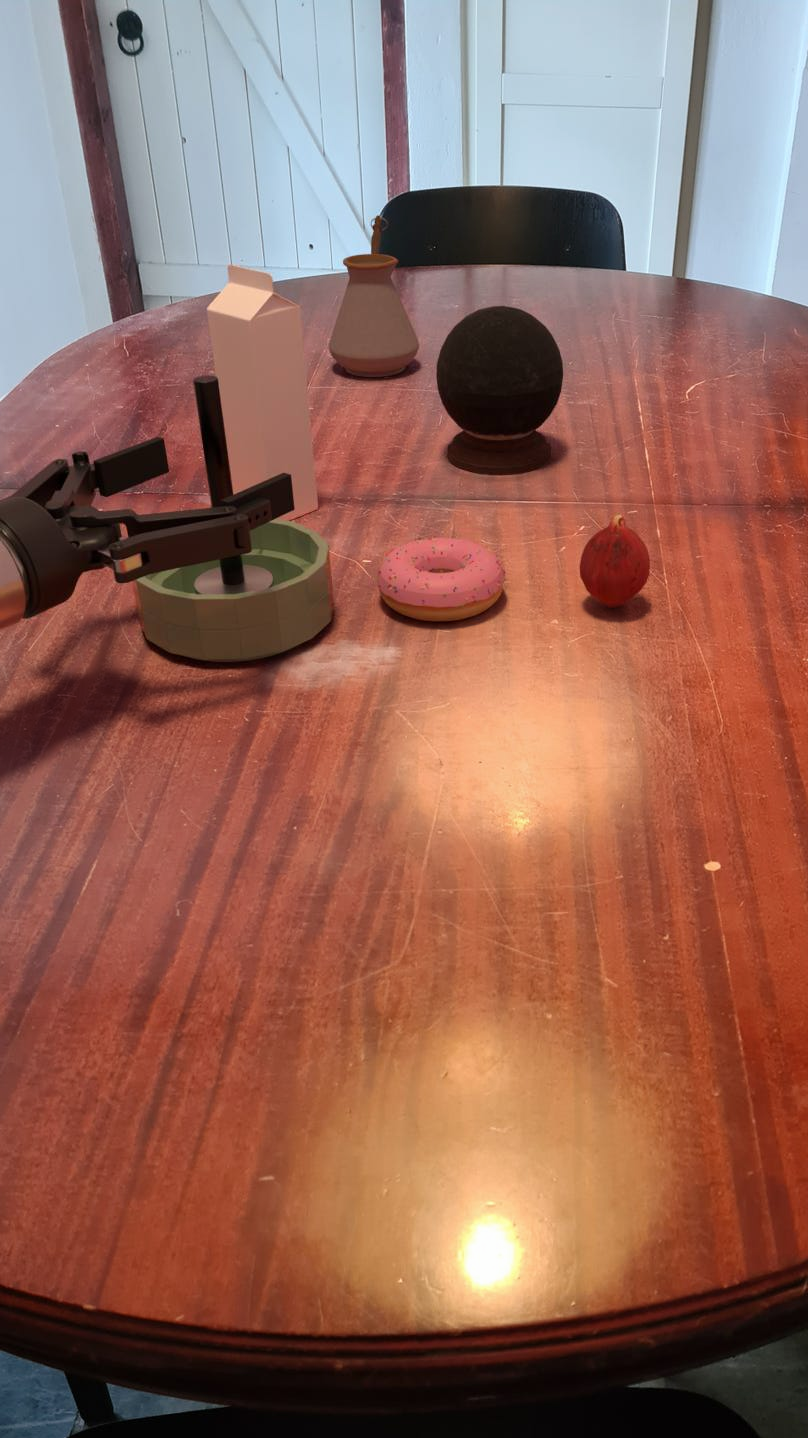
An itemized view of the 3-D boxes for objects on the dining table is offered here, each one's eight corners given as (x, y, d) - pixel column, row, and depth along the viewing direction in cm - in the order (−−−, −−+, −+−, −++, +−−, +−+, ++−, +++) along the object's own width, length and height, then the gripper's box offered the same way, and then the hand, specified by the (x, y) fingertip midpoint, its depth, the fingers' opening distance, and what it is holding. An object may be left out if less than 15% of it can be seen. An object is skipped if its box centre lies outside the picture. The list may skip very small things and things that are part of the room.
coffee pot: (417, 382, 153) (412, 250, 144) (325, 382, 153) (314, 251, 144) (426, 334, 170) (422, 214, 161) (343, 334, 170) (335, 214, 161)
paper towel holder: (184, 624, 101) (143, 386, 89) (225, 592, 105) (192, 362, 94) (252, 638, 99) (219, 396, 87) (291, 604, 103) (265, 371, 92)
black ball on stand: (412, 456, 133) (407, 308, 124) (498, 426, 140) (498, 284, 131) (500, 488, 126) (501, 333, 116) (585, 454, 133) (592, 307, 124)
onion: (643, 625, 102) (651, 533, 97) (574, 620, 102) (578, 528, 98) (648, 594, 106) (656, 505, 101) (582, 589, 107) (586, 500, 102)
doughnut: (409, 564, 111) (406, 520, 109) (523, 583, 108) (524, 538, 105) (355, 616, 103) (352, 570, 101) (478, 638, 100) (477, 591, 97)
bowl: (105, 648, 99) (90, 579, 96) (209, 570, 111) (199, 506, 107) (274, 683, 94) (266, 612, 91) (365, 598, 106) (360, 532, 102)
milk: (273, 528, 118) (244, 281, 104) (232, 512, 121) (199, 270, 108) (320, 509, 122) (298, 267, 108) (279, 493, 125) (252, 257, 111)
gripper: (-100, 574, 90) (124, 484, 104) (133, 672, 78) (350, 556, 92) (-132, 474, 85) (106, 393, 99) (110, 561, 74) (343, 457, 87)
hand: (224, 472), depth 95 cm, fingers open, 13 cm apart
